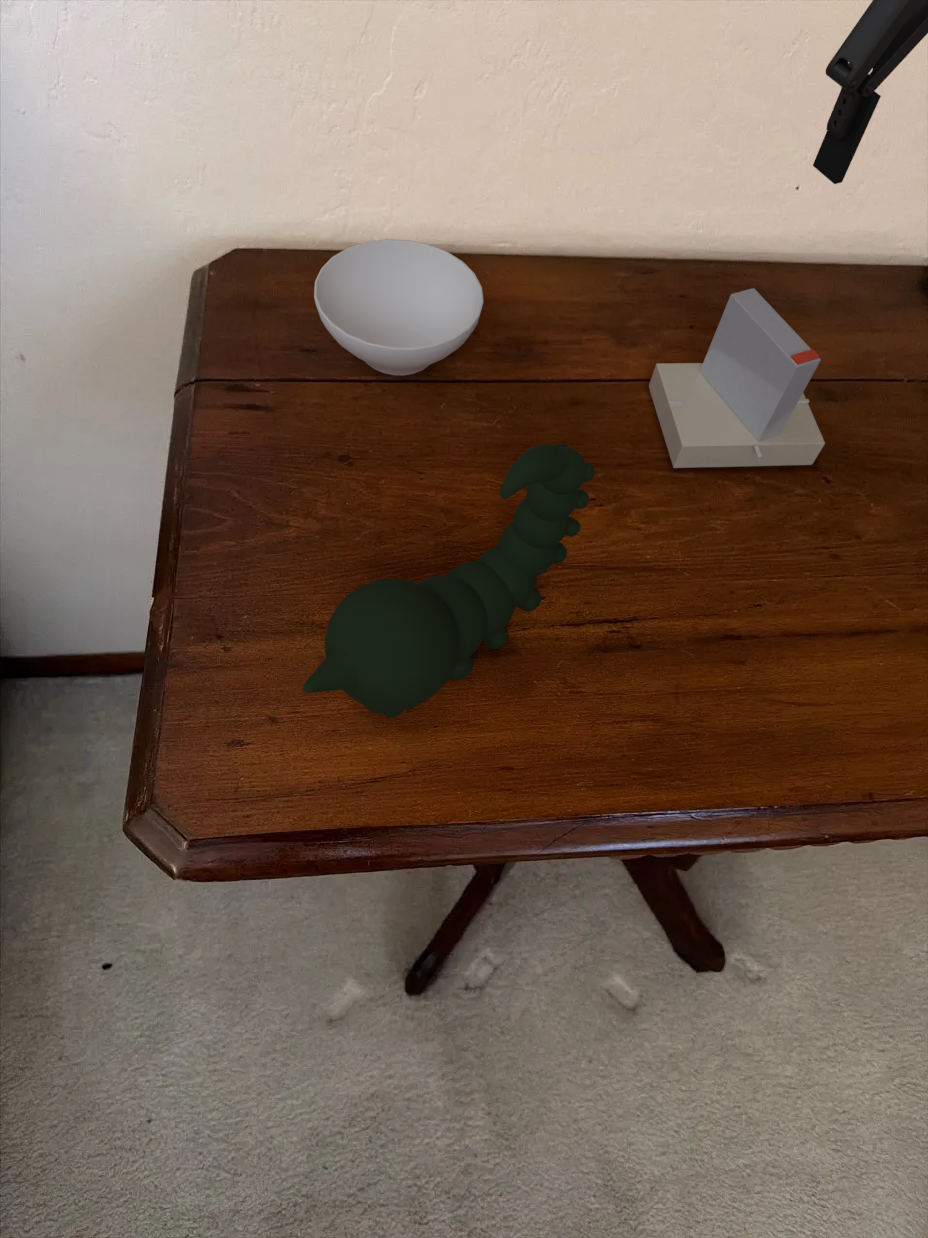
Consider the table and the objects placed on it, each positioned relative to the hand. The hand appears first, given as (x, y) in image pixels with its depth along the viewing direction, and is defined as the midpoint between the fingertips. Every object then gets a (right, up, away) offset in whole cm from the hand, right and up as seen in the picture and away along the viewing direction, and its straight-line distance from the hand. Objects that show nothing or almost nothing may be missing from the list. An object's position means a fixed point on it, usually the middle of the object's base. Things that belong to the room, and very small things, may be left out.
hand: (891, 156), depth 71 cm
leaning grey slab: (-8, -16, +14) cm, 23 cm away
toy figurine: (-37, -40, 0) cm, 54 cm away
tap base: (-8, -18, +16) cm, 26 cm away
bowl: (-41, -10, +18) cm, 46 cm away
